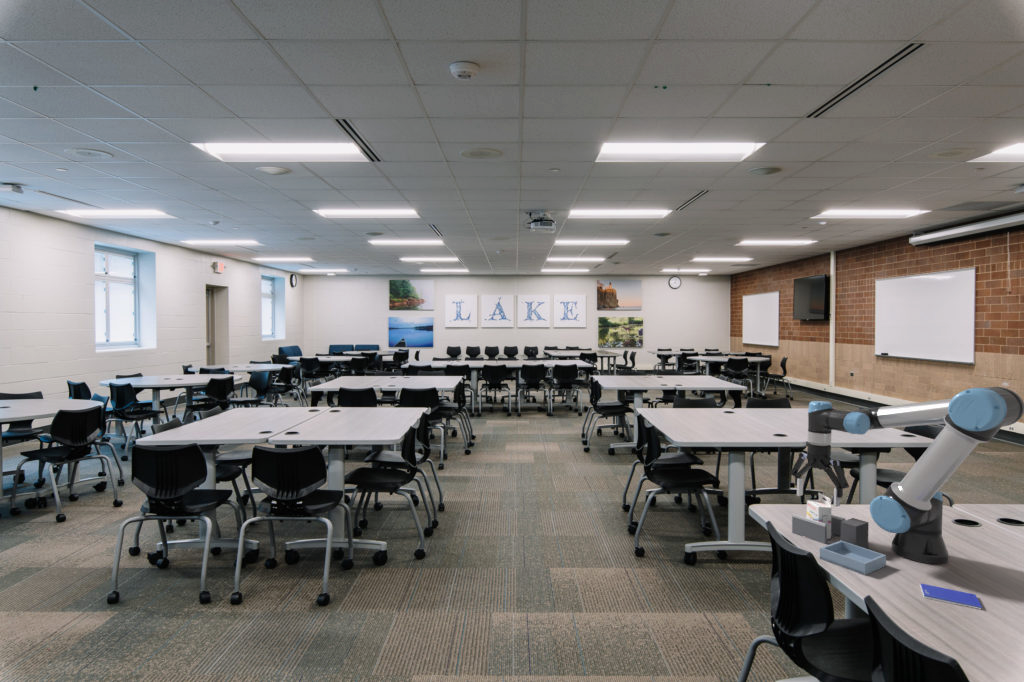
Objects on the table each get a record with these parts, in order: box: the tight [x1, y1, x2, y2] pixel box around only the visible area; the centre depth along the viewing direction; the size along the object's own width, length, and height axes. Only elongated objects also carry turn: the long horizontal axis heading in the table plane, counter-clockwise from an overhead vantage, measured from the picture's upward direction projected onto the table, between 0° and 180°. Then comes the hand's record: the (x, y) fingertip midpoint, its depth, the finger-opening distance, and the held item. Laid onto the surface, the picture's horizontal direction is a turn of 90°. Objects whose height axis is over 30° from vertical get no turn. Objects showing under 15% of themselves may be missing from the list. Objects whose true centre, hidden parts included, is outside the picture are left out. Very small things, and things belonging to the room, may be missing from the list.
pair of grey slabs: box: [791, 513, 846, 544], centre depth 195 cm, size 12×13×7 cm
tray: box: [819, 540, 887, 576], centre depth 171 cm, size 14×13×4 cm
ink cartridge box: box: [805, 492, 832, 540], centre depth 195 cm, size 9×5×15 cm, turn 179°
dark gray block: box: [840, 517, 869, 549], centre depth 183 cm, size 5×8×9 cm, turn 120°
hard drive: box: [919, 583, 983, 609], centre depth 149 cm, size 2×8×12 cm
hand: (817, 500), depth 195 cm, fingers open, 13 cm apart
